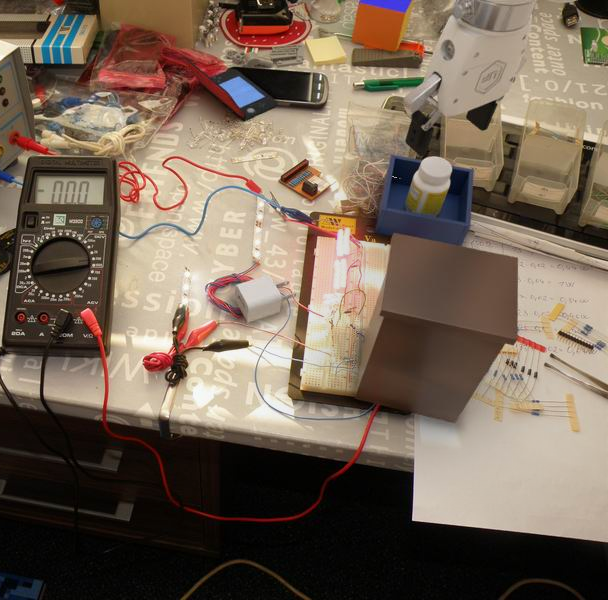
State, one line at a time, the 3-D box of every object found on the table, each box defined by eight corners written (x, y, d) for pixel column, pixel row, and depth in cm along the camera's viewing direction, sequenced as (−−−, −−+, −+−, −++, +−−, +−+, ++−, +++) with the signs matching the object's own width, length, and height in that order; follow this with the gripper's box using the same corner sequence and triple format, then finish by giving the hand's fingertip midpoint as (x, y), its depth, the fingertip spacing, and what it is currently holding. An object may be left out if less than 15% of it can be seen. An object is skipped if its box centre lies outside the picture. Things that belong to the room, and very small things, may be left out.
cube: (405, 33, 121) (416, -10, 115) (394, 56, 117) (405, 12, 110) (363, 23, 123) (371, -20, 117) (350, 45, 119) (358, 2, 112)
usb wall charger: (234, 302, 84) (235, 282, 81) (284, 286, 85) (286, 266, 82) (247, 326, 82) (248, 307, 78) (298, 309, 83) (301, 289, 80)
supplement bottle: (443, 209, 93) (461, 162, 86) (430, 230, 90) (448, 184, 84) (410, 196, 94) (425, 149, 88) (397, 216, 92) (412, 170, 85)
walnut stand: (462, 357, 79) (518, 257, 65) (457, 431, 73) (517, 339, 59) (360, 334, 81) (393, 232, 67) (348, 404, 75) (381, 309, 61)
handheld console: (280, 109, 108) (284, 69, 102) (226, 134, 104) (227, 93, 98) (233, 72, 114) (235, 32, 108) (181, 94, 110) (179, 54, 104)
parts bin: (462, 197, 95) (474, 169, 91) (457, 254, 89) (470, 226, 84) (383, 182, 97) (391, 154, 93) (373, 237, 91) (381, 209, 86)
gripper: (454, 44, 64) (410, 178, 77) (582, -1, 69) (519, 131, 83) (404, 7, 68) (370, 141, 81) (529, -33, 73) (477, 99, 86)
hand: (445, 136), depth 82 cm, fingers open, 9 cm apart
